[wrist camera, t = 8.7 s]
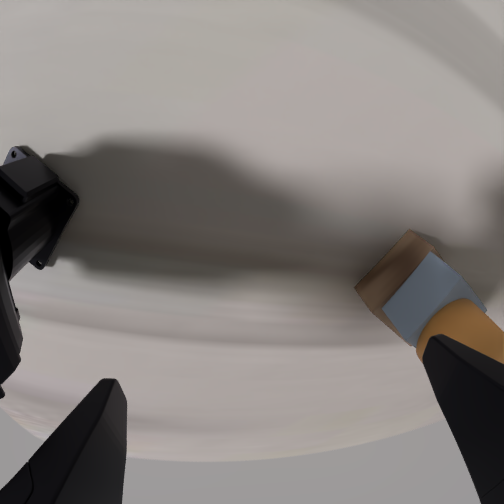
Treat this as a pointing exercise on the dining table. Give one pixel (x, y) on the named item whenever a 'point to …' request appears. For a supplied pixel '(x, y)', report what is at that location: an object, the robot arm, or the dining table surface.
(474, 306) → the orange cylinder
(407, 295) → the slate top block
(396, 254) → the walnut base block
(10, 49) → the dining table surface
